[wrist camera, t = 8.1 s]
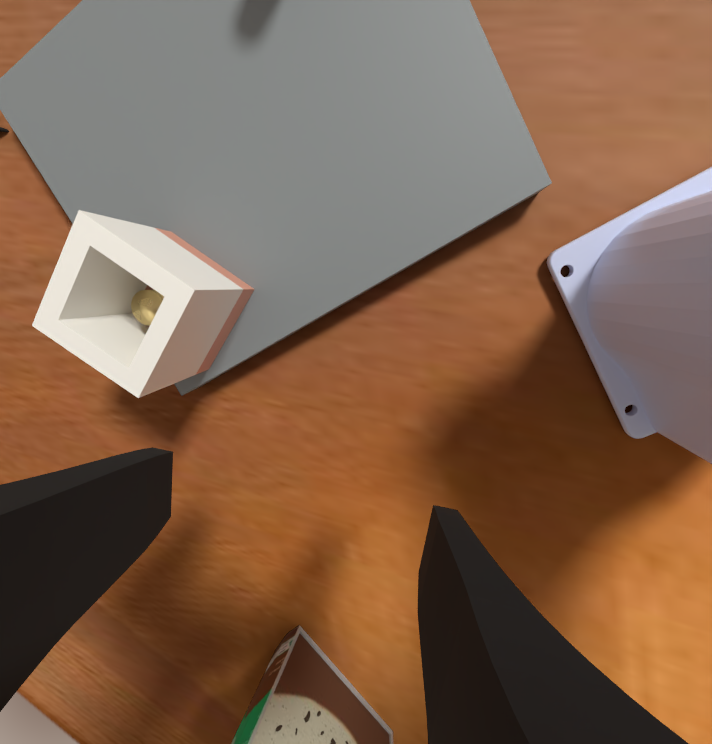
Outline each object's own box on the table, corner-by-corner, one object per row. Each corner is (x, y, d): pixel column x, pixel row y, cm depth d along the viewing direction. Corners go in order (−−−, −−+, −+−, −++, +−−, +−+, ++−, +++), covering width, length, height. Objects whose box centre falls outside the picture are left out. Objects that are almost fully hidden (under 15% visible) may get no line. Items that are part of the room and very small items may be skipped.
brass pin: (209, 310, 18) (170, 315, 15) (186, 324, 18) (144, 331, 15) (193, 283, 18) (150, 283, 15) (170, 298, 18) (124, 300, 15)
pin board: (539, 192, 16) (551, 182, 15) (197, 388, 20) (181, 395, 19) (358, -202, 14) (353, -258, 13) (21, 105, 18) (-13, 90, 17)
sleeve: (254, 289, 17) (194, 289, 12) (209, 369, 18) (138, 398, 14) (171, 231, 17) (78, 209, 12) (130, 315, 18) (31, 325, 14)
